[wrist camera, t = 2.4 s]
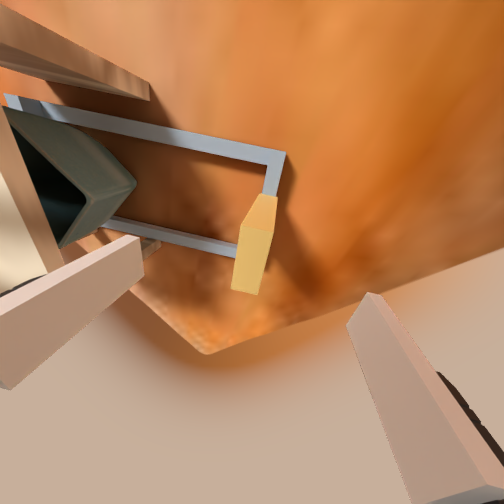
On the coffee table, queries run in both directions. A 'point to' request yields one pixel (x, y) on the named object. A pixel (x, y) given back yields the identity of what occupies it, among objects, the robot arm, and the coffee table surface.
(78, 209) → the flower pot
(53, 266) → the shelf
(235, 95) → the coffee table surface
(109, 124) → the frame with square tube
